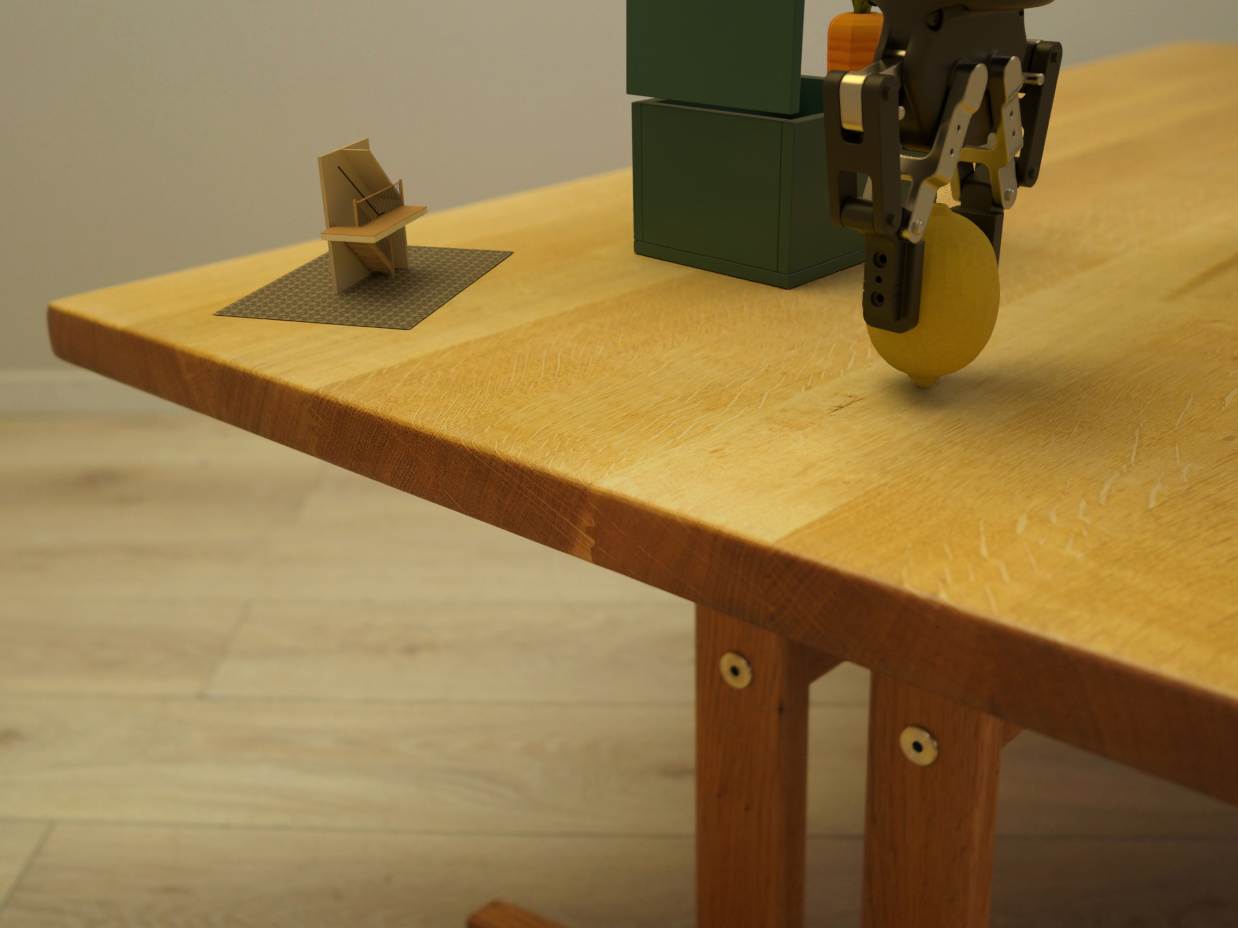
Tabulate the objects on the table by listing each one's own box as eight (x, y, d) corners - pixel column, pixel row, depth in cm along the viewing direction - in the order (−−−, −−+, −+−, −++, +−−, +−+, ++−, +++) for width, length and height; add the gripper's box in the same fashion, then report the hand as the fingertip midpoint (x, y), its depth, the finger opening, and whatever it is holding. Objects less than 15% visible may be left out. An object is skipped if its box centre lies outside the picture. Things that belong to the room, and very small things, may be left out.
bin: (783, 208, 85) (787, 73, 81) (933, 236, 77) (946, 88, 74) (633, 253, 75) (630, 102, 72) (788, 289, 68) (794, 123, 64)
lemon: (837, 394, 54) (847, 209, 50) (890, 357, 58) (902, 183, 55) (961, 421, 51) (981, 225, 48) (1008, 379, 55) (1029, 197, 52)
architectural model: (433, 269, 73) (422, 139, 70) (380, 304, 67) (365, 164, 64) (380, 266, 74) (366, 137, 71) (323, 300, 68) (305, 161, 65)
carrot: (831, 163, 98) (841, -44, 92) (893, 168, 96) (908, -44, 90) (810, 176, 94) (820, -40, 88) (876, 181, 92) (890, -40, 86)
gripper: (956, -135, 39) (914, 377, 46) (1153, -137, 48) (1093, 289, 55) (764, -129, 44) (753, 334, 51) (977, -132, 53) (943, 259, 60)
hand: (931, 308), depth 53 cm, fingers closed on lemon, 5 cm apart
